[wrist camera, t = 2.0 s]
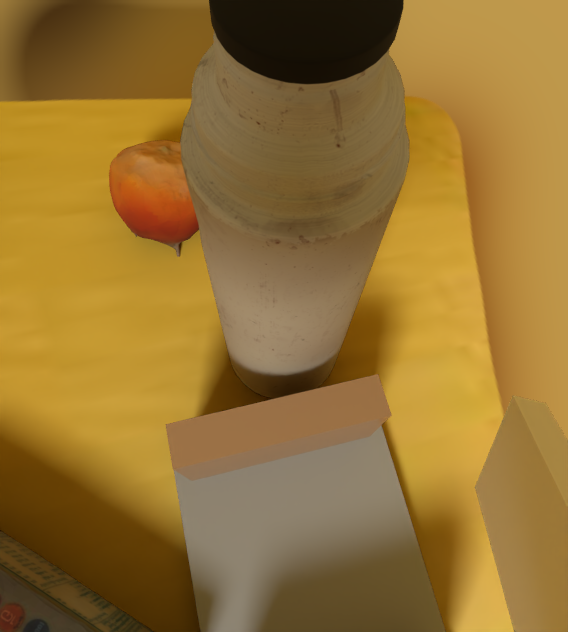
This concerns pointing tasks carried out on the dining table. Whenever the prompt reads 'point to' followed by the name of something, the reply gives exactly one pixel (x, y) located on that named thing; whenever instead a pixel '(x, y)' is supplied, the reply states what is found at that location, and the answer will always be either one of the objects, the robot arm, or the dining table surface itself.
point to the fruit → (153, 192)
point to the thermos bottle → (294, 175)
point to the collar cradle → (300, 517)
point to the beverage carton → (51, 597)
